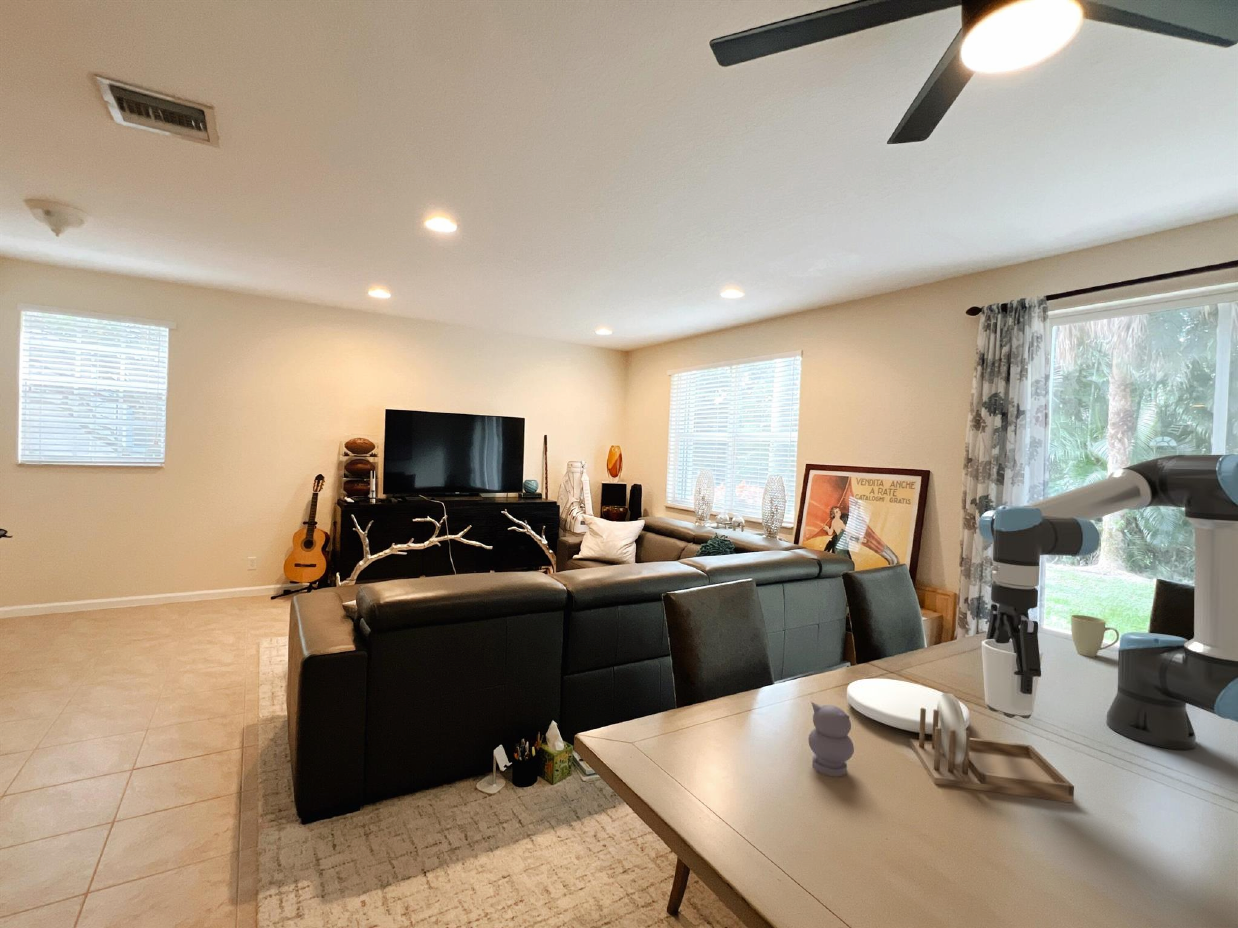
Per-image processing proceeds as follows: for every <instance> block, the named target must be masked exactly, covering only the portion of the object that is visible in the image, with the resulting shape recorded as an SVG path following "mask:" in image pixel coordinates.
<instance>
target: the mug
mask: <svg viewBox="0 0 1238 928" xmlns="http://www.w3.org/2000/svg"><path fill="white" fill-rule="evenodd" d="M1106 622H1107V621H1106V620H1104V619H1102V618H1099V617H1095V616H1090V615H1084V614H1071V615H1070V623H1071V624H1070V625H1071V627H1070V628H1071V629H1070V630H1071V638H1072V640H1073V645H1074V647H1075V650H1076V652H1077V653H1076V654H1078V655H1081V656H1083V657H1084V656H1085V657H1089V656H1090V657H1091V658H1095V656H1096V657H1097V654H1098V653H1099V651H1102V650H1104V649H1105V650H1106V649H1108V648H1110V647H1112V646H1114V645H1116V643H1117V642H1118V641H1119V640H1120V639H1119V638H1120V633H1119V631H1118V630H1117V629H1116V628H1115V627H1106ZM1110 630H1112V631H1114V632H1115V634H1116V639H1115V640H1114V641H1113V642H1112V643H1110V644H1108V645H1106V646H1104V647H1102V644H1103V641H1104V638H1105V633H1106V632H1108V631H1110Z"/></svg>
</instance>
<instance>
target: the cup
mask: <svg viewBox="0 0 1238 928" xmlns="http://www.w3.org/2000/svg"><path fill="white" fill-rule="evenodd" d="M981 653H982V654H981V655H982V656H981V657H982V669H983V670H982V671H983V672H982V673H983V686H984V687H983V688H984V702H985V703H986V706H987V708H988V709H989V711H992V712H994V713H995V712H1000V713H1002V714H1003V715H1004V716H1005V717H1007V718H1010V719H1011V718H1015V717H1016V716H1017V717H1021V718H1022V719H1026V720H1028V719H1030V717H1031V716H1032V715H1033V712H1034V707H1035V702H1036V695H1037V691H1038V690H1037V689H1038V685H1039V679H1040V677H1033V694H1032V711H1028V710H1019V709H1015V708H1014V688H1015V674H1014V672H1015V671H1018V669H1017V664H1016V656H1017V655H1016V653H1014V648H1013V643H1012V640H1010V641H1009V643H1004V644H1003V643H997V642H995V639H989V640H986V639H985V640H982V641H981ZM1043 654H1044V653H1043V651H1041V650H1040V649H1039V655H1040V666H1041V665H1042V659H1043Z"/></svg>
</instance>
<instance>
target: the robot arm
mask: <svg viewBox="0 0 1238 928" xmlns="http://www.w3.org/2000/svg"><path fill="white" fill-rule="evenodd" d="M1150 507H1170V508H1171V507H1172V508H1184V518H1185V519H1186V520H1187V521H1188V522H1189V523H1190V524H1192V525H1193V526H1194V601H1193V602H1194V610H1193V611H1194V613H1193V614H1194V617H1193V618H1194V619H1193V623H1194V624H1193V632H1194V635H1193V638H1191V639H1190V640H1188V639H1187V638H1184V637H1181V636H1176V635H1170V634H1162V633H1151V632H1126V633H1124V634H1122V635H1121V636H1120V637H1119V638H1120V639H1119V647H1118V649H1117V651H1118V657H1117V658H1118V662H1117V663H1118V664H1117V692H1116V695H1115V697H1114V699H1113V701H1112V702H1111V705H1110V707H1109V709H1108V711H1106V718H1105V719H1106V720H1105V721H1106V725H1107V726H1108V727H1109V728H1110V729H1111V730H1113V731H1114V732H1115V733H1118V734H1120V735H1122V736H1124V737H1127V738H1128V739H1132V740H1134V741H1138V742H1141V743H1144V744H1147V745H1151V746H1155V747H1160V748H1164V749H1171V750H1182V751H1186V750H1193V749H1195V748H1196V742H1197V741H1196V739H1197V737H1196V733H1195V729H1194V728H1193V725H1192V721H1191V719H1190V717H1189V714H1188V712H1187V704H1188V705H1190V706H1192V707H1196V708H1198V709H1201V710H1203V711H1205V712H1208V713H1210V714H1213V715H1216V716H1218V717H1220V719H1221V718H1222V719H1225V720H1226V719H1227V720H1230V721H1234V722H1235V723H1238V454H1236V453H1231V454H1230V453H1229V454H1174V455H1173V454H1172V455H1165V456H1160V457H1156V458H1153V459H1149V460H1144V461H1141V462H1139V463H1135V464H1133V465H1129V466H1126V467H1123V468H1122V467H1121V468H1120V469H1118V470H1114V471H1113V472H1111V473H1110V474H1109V475H1108V477H1107V478H1104V479H1101V480H1098V481H1095V482H1091V483H1089V484H1086V485H1082V486H1079V487H1076V488H1074V489H1070V490H1067V491H1064V492H1061V493H1059V494H1055V495H1053V496H1049V497H1046V498H1042V499H1041V500H1040V499H1039V500H1038V501H1034V502H1031V503H1027V504H1025V505H1007V504H1006V505H999V506H997V508H996V509H991V510H987V511H985V512H984V513H983V514H982V515H981V516H980V518H979V521H978V526H977V527H978V531H979V534H980V536H981V537H982V538H983V539H984V540H985V541H987V542H990V543H993V544H992V545H993V548H992V566H990V571H992V575H991V576H992V577H991V578H992V580H993V581H994V582H993V583H992V584H991V586H990V587H991V589H990V590H991V592H990V600H991V601H992V603H991V604H990V616H989V623H988V628H987V632H986V633H987V634H986V638H985V640H989V639H995V642H997V643H1003V644H1004V643H1009V641H1012V643H1013V648H1014V653H1016V655H1017V656H1016V664H1017V669H1018V671H1015V672H1014V674H1015V688H1014V708H1015V709H1019V710H1028V711H1032V694H1033V677H1039V678H1041V677H1042V668H1041V666H1040V655H1039V650H1040V646H1039V645H1040V644H1039V636H1038V633H1039V622H1038V621H1036V620H1030V616H1029V610H1031V609H1035V608H1037V607H1038V602H1039V597H1038V596H1039V590H1038V589H1037V588H1036V587H1039V584H1040V563H1041V562H1040V560H1041V556H1061V557H1063V556H1065V557H1066V556H1067V557H1072V558H1074V557H1081V556H1088V555H1091V554H1093V553H1094V552H1096V550H1097V549H1098V547H1099V545H1100V531H1099V529H1098V528H1097V526H1096V525H1095V524H1094V523H1092V522H1091V521H1093V520H1096V519H1099V518H1103V517H1105V516H1107V515H1108V516H1109V515H1111V514H1114V513H1118V512H1120V511H1123V510H1126V509H1127V510H1130V511H1131V510H1132V511H1136V510H1137V511H1138V510H1142V509H1145V508H1150Z"/></svg>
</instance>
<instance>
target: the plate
mask: <svg viewBox="0 0 1238 928" xmlns="http://www.w3.org/2000/svg"><path fill="white" fill-rule="evenodd" d="M943 693H944V692H942V691H940V690H936V689H934V688H931V687H927V686H923V685H921V684H917V683H912V682H908V681H903V680H897V679H889V678H864V679H863V678H862V679H858V680H855V681H853V682H850V683H849V685H847V689H846V700H847V702H848V703H849V705H850V706H851V707H853V708H854V710H856V711H857V712H859V713H861V714H862V715H863V716H865V717H868V718H869V719H872V720H875V721H876V722H879V723H882V724H884V725H888V726H890V727H894V728H896V729H900V730H905V731H908V732H913V733H920V709H921V708H925V709H926V720H925V735H932V734H933V710H934V709H936V710H937V705H938V701H939V698H940V696H941V695H942V694H943ZM958 702H959V704H960V706H961V709H962V712H963V716H964V721H965V727H966V729H967V728H968V727H969V725H970V720H971V716H970V712H969V709H968V707H967V706H966V705H965V704H964V703H963V702H961V701H959V700H958Z"/></svg>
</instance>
